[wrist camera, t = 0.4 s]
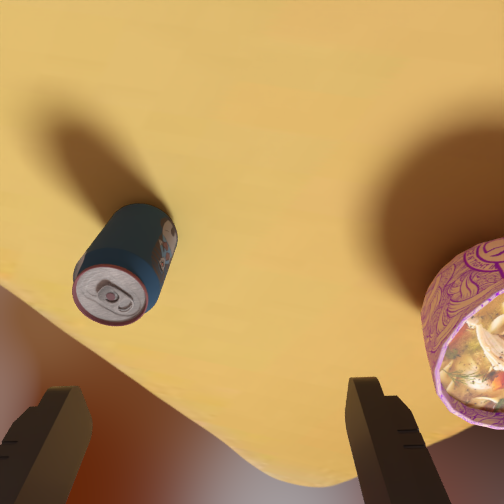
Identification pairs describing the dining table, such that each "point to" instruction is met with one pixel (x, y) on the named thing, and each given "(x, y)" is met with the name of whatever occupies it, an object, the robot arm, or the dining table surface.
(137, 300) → the soda can
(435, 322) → the bowl of food
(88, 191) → the dining table surface
